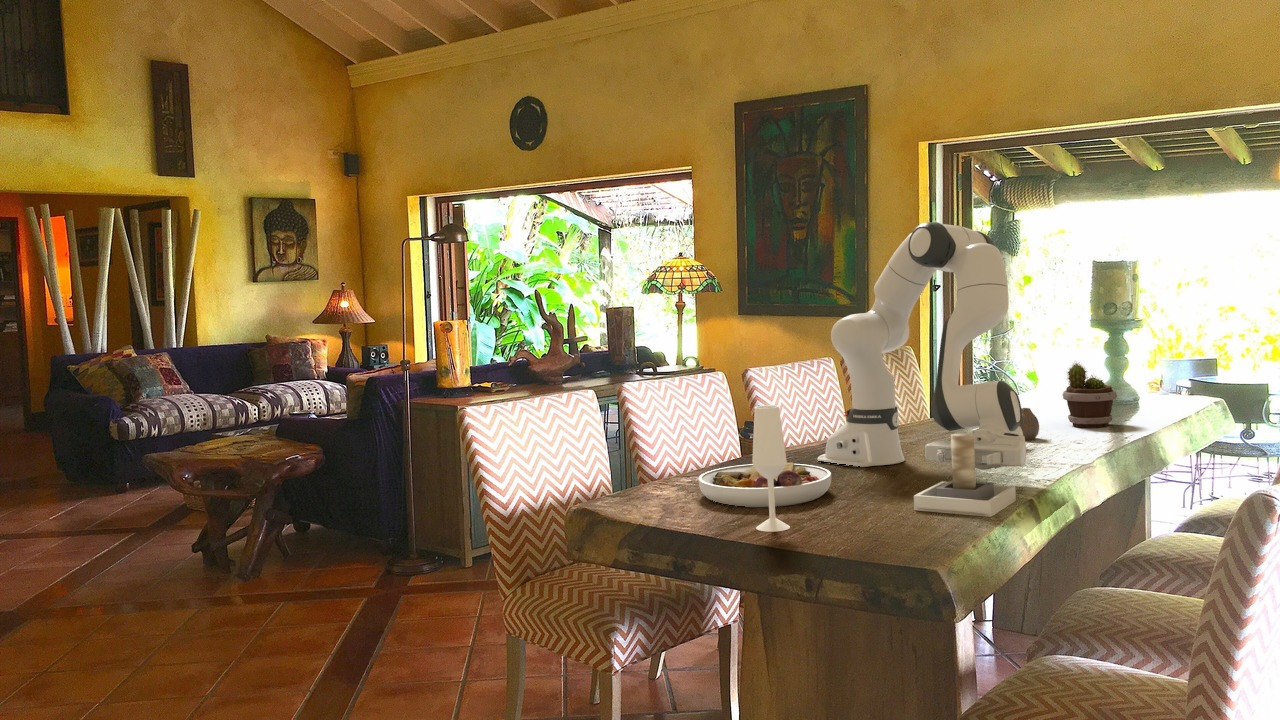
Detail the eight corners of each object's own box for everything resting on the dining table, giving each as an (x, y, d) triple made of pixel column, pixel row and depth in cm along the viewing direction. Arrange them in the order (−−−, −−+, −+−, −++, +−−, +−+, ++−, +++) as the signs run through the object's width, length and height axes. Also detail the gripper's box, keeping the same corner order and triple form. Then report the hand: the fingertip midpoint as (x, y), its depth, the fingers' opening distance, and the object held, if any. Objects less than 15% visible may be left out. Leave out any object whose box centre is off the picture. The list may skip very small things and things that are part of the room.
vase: (1041, 440, 277) (1040, 409, 276) (1015, 441, 278) (1014, 410, 278) (1037, 436, 284) (1036, 406, 283) (1011, 437, 285) (1010, 407, 284)
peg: (950, 503, 205) (947, 436, 204) (958, 499, 208) (955, 433, 207) (972, 505, 202) (969, 437, 201) (979, 501, 205) (976, 433, 205)
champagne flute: (751, 525, 199) (744, 406, 197) (782, 522, 200) (776, 403, 199) (762, 533, 192) (756, 410, 191) (795, 529, 194) (789, 407, 192)
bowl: (678, 494, 236) (676, 461, 235) (789, 478, 247) (787, 447, 246) (737, 517, 208) (735, 480, 207) (858, 498, 219) (856, 463, 218)
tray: (914, 510, 204) (913, 490, 203) (942, 495, 216) (941, 476, 216) (991, 516, 194) (990, 496, 194) (1015, 500, 206) (1015, 481, 206)
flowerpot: (1110, 421, 303) (1108, 356, 302) (1122, 428, 288) (1120, 360, 287) (1059, 422, 307) (1057, 358, 305) (1069, 430, 292) (1066, 362, 290)
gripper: (937, 432, 221) (912, 441, 210) (1032, 435, 208) (1011, 446, 197) (938, 460, 221) (914, 471, 210) (1033, 465, 209) (1012, 477, 198)
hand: (962, 459), depth 204 cm, fingers open, 8 cm apart
